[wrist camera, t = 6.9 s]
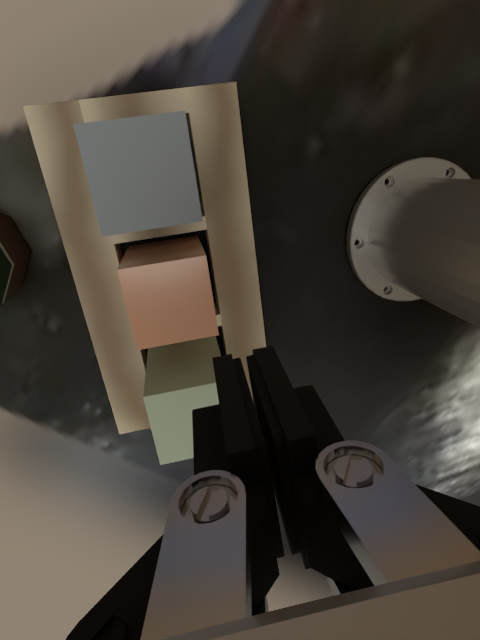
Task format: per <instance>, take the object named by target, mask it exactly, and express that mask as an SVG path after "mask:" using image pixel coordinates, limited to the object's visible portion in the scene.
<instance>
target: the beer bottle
mask: <svg viewBox="0 0 480 640" xmlns="http://www.w3.org/2000/svg"><path fill="white" fill-rule="evenodd" d="M30 255H31V251H30V250H29V248H28V246H27V245H26V243H25V241H24V240H23V238H22V237H21V235H20V233H19V232H18V230H17V228H16V227H15V225H14V224H13V222H12V220H11V219H10V217H7V216H5V215H2V214H0V305H1V304H3V303H4V302H5V301H6V300H7V299H9V298H10V297H11V296H12V295H14V294H15V293H16V292H17V291H18V289H19V288H20V287H21V286H22V284H23V280H24V277H25V273H26V269H27V266H28V262H29V259H30Z"/></svg>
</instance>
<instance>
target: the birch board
mask: <svg viewBox="0 0 480 640" xmlns="http://www.w3.org/2000/svg"><path fill="white" fill-rule="evenodd" d="M23 108H24V112H25V115H26V118H27V122H28V125H29V129H30V132H31V135H32V139H33V142H34V146H35V149H36V152H37V156H38V159H39V163H40V166H41V169H42V173H43V176H44V180H45V183H46V186H47V190H48V193H49V196H50V200H51V203H52V207H53V210H54V213H55V217H56V220H57V224H58V227H59V230H60V234H61V237H62V241H63V244H64V247H65V251H66V254H67V258H68V261H69V264H70V268H71V271H72V275H73V278H74V281H75V285H76V288H77V292H78V295H79V298H80V302H81V305H82V309H83V312H84V315H85V319H86V322H87V326H88V329H89V332H90V336H91V339H92V343H93V346H94V349H95V353H96V356H97V360H98V363H99V366H100V370H101V373H102V377H103V380H104V383H105V387H106V390H107V394H108V397H109V400H110V404H111V407H112V411H113V414H114V417H115V421H116V424H117V428H118V431H119V434H123V433H128V432H133V431H138V430H143V429H148V428H151V427H150V423H149V419H148V415H147V411H146V407H145V403H144V399H143V392H144V383H145V374H146V364H147V353H146V349H142V350H137V348H136V344H135V340H134V336H133V332H132V328H131V324H130V320H129V316H128V312H127V308H126V304H125V300H124V296H123V292H122V288H121V284H120V280H119V276H118V272H117V269H118V267H119V265H120V263H121V260H122V258H123V253H122V249H121V245H120V243H124V242H130V241H137V240H143V239H149V238H156V237H162V236H169V235H175V234H182V233H188V232H194V231H201V230H205V234H206V241H207V247H208V253H209V259H210V266H211V272H212V278H213V285H214V291H215V297H216V303H214V307H215V313H216V320H217V326H220V329H221V335H222V342H223V348H224V354H225V355H228V354H232V358H233V359H235V358H241V362H242V365H243V369H244V372H245V375H246V379H247V382H248V385H249V389H250V392H251V396H252V399H253V395H252V390H251V384H250V378H249V372H248V366H247V360H246V356H249V355H253V349H258V348H263V347H266V341H265V332H264V323H263V315H262V306H261V297H260V288H259V279H258V271H257V262H256V253H255V244H254V235H253V227H252V218H251V209H250V200H249V191H248V182H247V174H246V165H245V156H244V147H243V138H242V130H241V121H240V112H239V103H238V94H237V86H236V82H229V83H220V84H212V85H203V86H195V87H186V88H177V89H169V90H160V91H152V92H143V93H135V94H126V95H117V96H109V97H100V98H92V99H83V100H74V101H66V102H57V103H49V104H40V105H31V106H24V107H23ZM178 111H185V113H186V117H187V121H188V127H189V133H190V140H191V146H192V152H193V158H194V165H195V171H196V177H197V184H198V190H199V196H200V203H201V209H202V212H201V213H202V220H203V221H201V222H195V223H188V224H182V225H175V226H169V227H162V228H156V229H149V230H143V231H136V232H130V233H123V234H117V235H110V236H104V237H102V235H101V231H100V228H99V224H98V220H97V216H96V212H95V208H94V204H93V200H92V196H91V192H90V189H89V185H88V181H87V177H86V173H85V169H84V165H83V161H82V157H81V153H80V149H79V146H78V142H77V138H76V134H75V130H74V126H73V124H80V123H88V122H96V121H104V120H112V119H120V118H129V117H137V116H145V115H153V114H161V113H169V112H178ZM253 402H254V401H253Z"/></svg>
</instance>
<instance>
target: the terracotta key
mask: <svg viewBox="0 0 480 640" xmlns="http://www.w3.org/2000/svg"><path fill="white" fill-rule="evenodd" d="M117 272H118V276H119V280H120V284H121V288H122V292H123V296H124V300H125V304H126V308H127V312H128V316H129V320H130V324H131V328H132V332H133V336H134V340H135V344H136V348H137V350H142V349H147V348H152V347H158V346H163V345H169V344H174V343H179V342H185V341H190V340H196V339H201V338H206V337H212V336H217V335H219V332H218V326H217V320H216V313H215V307H214V301H213V295H212V289H211V282H210V276H209V270H208V264H207V257H206V254H205V251H204V249H203V247H202V245H201V242H200V240H199V238H198V235H196V236H190V237H184V238H177V239H171V240H164V241H158V242H152V243H145V244H139V245H133V246H128V248H127V250H126V252H125V254H124V256H123V258H122V260H121V263H120V265H119V267H118V269H117Z"/></svg>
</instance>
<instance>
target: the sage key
mask: <svg viewBox="0 0 480 640" xmlns="http://www.w3.org/2000/svg"><path fill="white" fill-rule="evenodd" d="M218 356H221V354H220V350H219V346H218V343H217V339H216V336H212V337H206V338H201V339H196V340H190V341H185V342H179V343H174V344H169V345H163V346H158V347H152V348H148V355H147V364H146V374H145V383H144V392H143V399H144V403H145V407H146V411H147V415H148V419H149V423H150V427H151V430H152V434H153V438H154V442H155V446H156V450H157V454H158V458H159V462H160V465H163V464H167V463H172V462H176V461H181V460H186V459H190V458H194V453H193V425H192V410H193V409H198V408H203V407H207V406H212V405H217V404H219V400H218V393H217V387H216V380H215V373H214V366H213V360H212V358H213V357H218Z"/></svg>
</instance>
